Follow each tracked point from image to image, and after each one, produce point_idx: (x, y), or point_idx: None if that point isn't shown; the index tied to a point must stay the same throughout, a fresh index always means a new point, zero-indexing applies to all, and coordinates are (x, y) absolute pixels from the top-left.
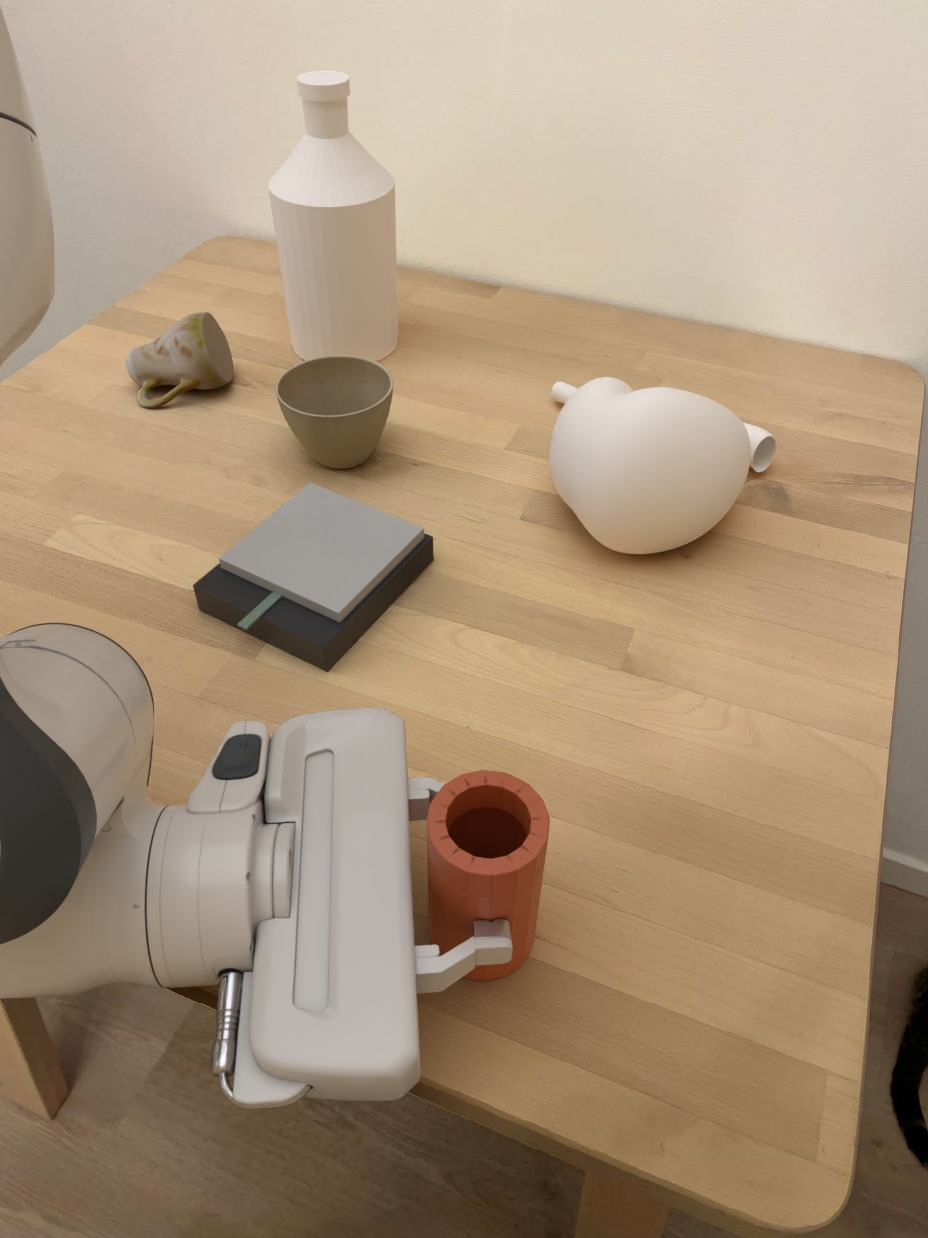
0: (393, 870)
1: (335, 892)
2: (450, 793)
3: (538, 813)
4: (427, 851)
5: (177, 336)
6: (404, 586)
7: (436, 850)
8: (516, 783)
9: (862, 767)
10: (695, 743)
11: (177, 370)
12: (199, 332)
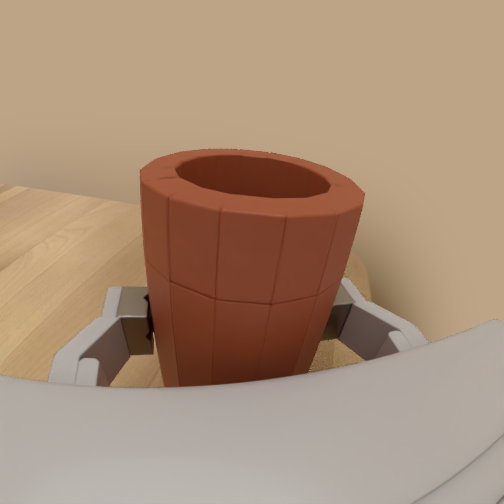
0: (313, 396)
1: (404, 495)
2: (194, 188)
3: (231, 151)
4: (274, 316)
5: None
6: None
7: (347, 214)
8: (177, 155)
9: (117, 205)
10: (71, 249)
11: None
12: None
